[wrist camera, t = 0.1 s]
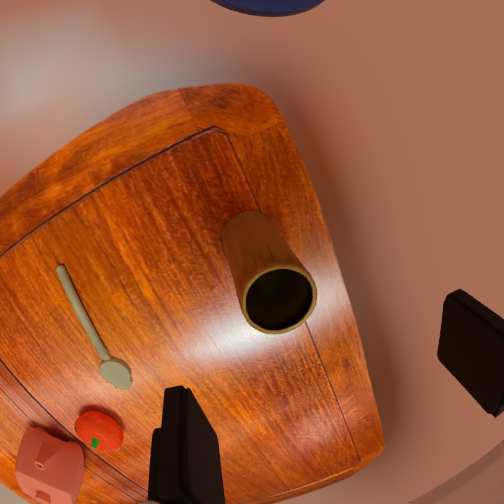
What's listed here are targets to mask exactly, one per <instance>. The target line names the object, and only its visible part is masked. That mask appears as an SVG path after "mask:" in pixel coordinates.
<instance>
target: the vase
mask: <svg viewBox="0 0 504 504" xmlns="http://www.w3.org/2000/svg"><path fill="white" fill-rule="evenodd" d="M222 246H223V250H224V252H225V254H226V255H227V258H228V262H229V266H230V270H231V273H232V276H233V279H234V284H235V288H236V292H237V296H238V300H239V303H240V308H241V311H242V313H243V315H244V317H245V319H246V321H247V322H248V324H249V325H250V326H252V327H253V328H255V329H257V330H258V331H260V332H263V333H266V334H282V333H286V332H289V331H291V330H293V329H296V328H297V327H299V326H300V325H302V324H303V323H304V322H305V321H306V320H307V319H308V318H309V316H310V315H311V314H312V312H313V310H314V308H315V305H316V301H317V288H316V285H315V282H314V280H313V278H312V277H311V275H310V273H309V272H308V271H307V270H306V269H305V267H304V266H303V265H302V263H301V262H300V261H299V260H298V258H297V257H296V256H295V254H294V253H293V252H292V250H291V249H290V247H289V246H288V244H287V243H286V242H285V240H284V239H283V237H282V236H281V235H280V233H279V232H278V230H277V228H276V226H275V224H274V222H273V221H272V220H271V219H270V218H269V217H268V216H266V215H265V214H263V213H260V212H257V211H246V212H242V213H239V214H237V215H236V216H234V217H233V218H231V219H230V220H229V221H228V223H227V224H226V226H225V228H224V230H223V233H222Z"/></svg>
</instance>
